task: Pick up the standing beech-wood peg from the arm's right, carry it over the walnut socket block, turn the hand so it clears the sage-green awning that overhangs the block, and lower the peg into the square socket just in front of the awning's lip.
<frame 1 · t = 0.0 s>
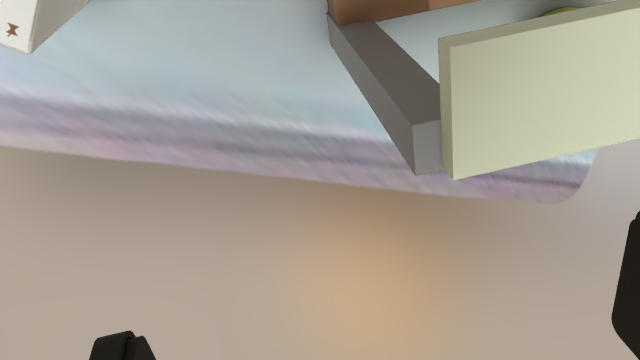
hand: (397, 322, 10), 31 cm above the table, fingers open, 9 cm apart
awning: (507, 17, 29), on the table
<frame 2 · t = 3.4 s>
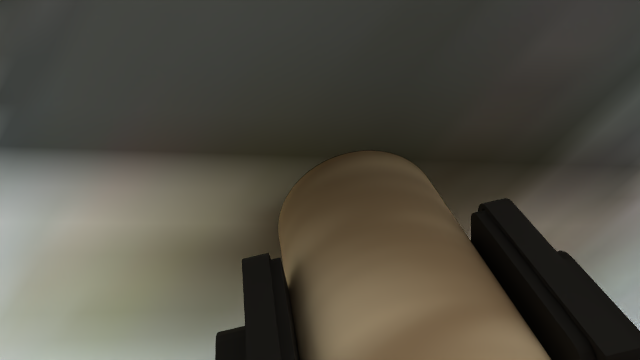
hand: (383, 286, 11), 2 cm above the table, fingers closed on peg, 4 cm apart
peg: (359, 222, 13), on the table, touching gripper
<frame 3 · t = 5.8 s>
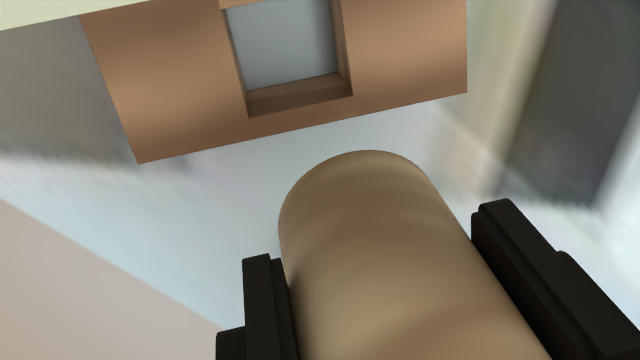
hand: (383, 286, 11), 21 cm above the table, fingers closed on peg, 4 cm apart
peg: (359, 222, 13), point 19 cm above the table, touching gripper
when the fingers open (5 cm above the table, at t = 8.4 s): peg drops 3 cm, on the table.
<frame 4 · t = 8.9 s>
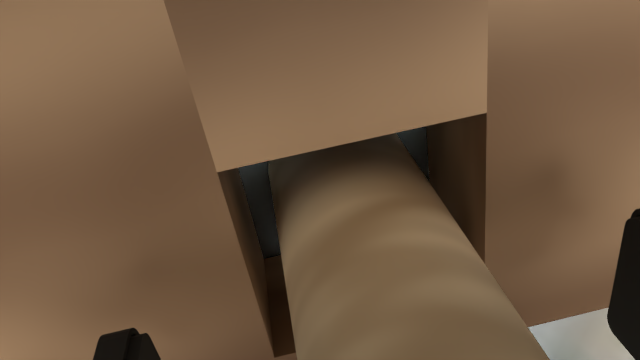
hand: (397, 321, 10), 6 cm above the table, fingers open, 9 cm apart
socket block: (320, 69, 14), on the table
peg: (335, 166, 15), on the table
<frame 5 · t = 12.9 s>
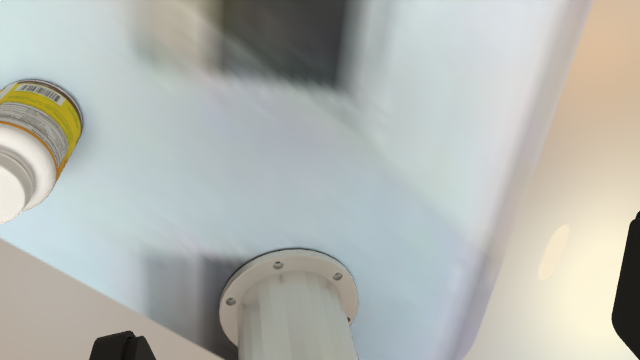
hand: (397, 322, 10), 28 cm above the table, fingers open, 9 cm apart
supplement bottle: (42, 114, 35), on the table
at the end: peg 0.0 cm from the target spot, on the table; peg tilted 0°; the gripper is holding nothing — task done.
